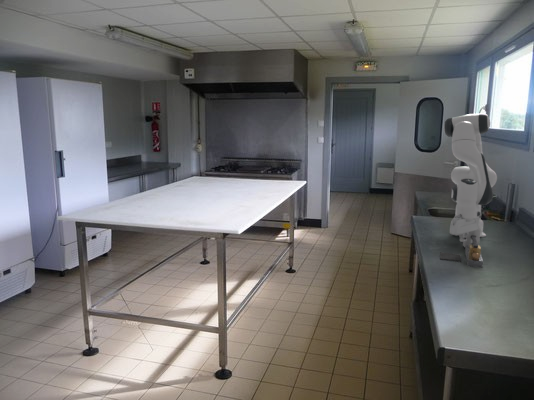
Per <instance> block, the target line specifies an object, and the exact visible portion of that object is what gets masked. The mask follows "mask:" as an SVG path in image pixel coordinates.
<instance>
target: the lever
mask: <svg viewBox="0 0 534 400" xmlns="http://www.w3.org/2000/svg"><path fill="white" fill-rule="evenodd" d="M470 238H471V239H472V242H473V246H474V248H478V244H477V240H476V236H475V235H471V237H470Z"/></svg>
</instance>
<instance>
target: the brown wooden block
mask: <svg viewBox="0 0 534 400" xmlns="http://www.w3.org/2000/svg"><path fill="white" fill-rule="evenodd" d="M481 250H482V248H481V245H480V244H479V245H478V248H474V246H473V245H470V244H469V256H472V255H473V253H479V254H481V255H482V251H481ZM479 257H480V256H479Z"/></svg>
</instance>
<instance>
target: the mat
mask: <svg viewBox="0 0 534 400" xmlns="http://www.w3.org/2000/svg"><path fill="white" fill-rule="evenodd" d="M439 260H442V261H451V262H457V263H462V258H461V254H459V253H450V252H449V253H448V252H440V253H439Z"/></svg>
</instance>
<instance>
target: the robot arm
mask: <svg viewBox="0 0 534 400" xmlns="http://www.w3.org/2000/svg"><path fill="white" fill-rule="evenodd" d="M490 127H491V119H490V117H489V116H488V114H486V113H469V114H463V115H459V116H455V117H451V116H450V117H447V118H446V120H445V121H444V124H443V132H444V134H445V136H447V137H450V138H451V152H452V155H453V156H454V158H456V159H457V160H459V161H460V162H463V163H465V164H466V165H467V166H465V165H464V166H456V167H454V168H453V169H452V170H451V173H450V178H451V181H452V182H453V183H454V185H453V186H452V187H451V188H450V189H451V192H450V199H451V200H452V201H453V202H454V203H456V205H455V214H454V217H453V218H452V219H451V221H450V226H449V235H452V236H459V242H461V243H463V242H464V241H466V239H467V236H468V234H469V232H471V231H474V230H477V229H478V227H479V226H480V227H479V228H480V229H481V231H480V238H483V237H487V234H486V233H485V232H484V231H483V230H484V220H482V219H481V218H482V206H487V205H488V204H489V203H491V202H492V201H493V199H494V198H493V197H494V193H493V187H494V186H495V185H496V183H497V180H498V175H497V173H496V172H495V170H493V169H492V168H491V167H490V166H489V165H488V163H487V161H486V159H485V156H484V153H483V144H482V135H484V134H486V133H487V132H489V129H490Z"/></svg>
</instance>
